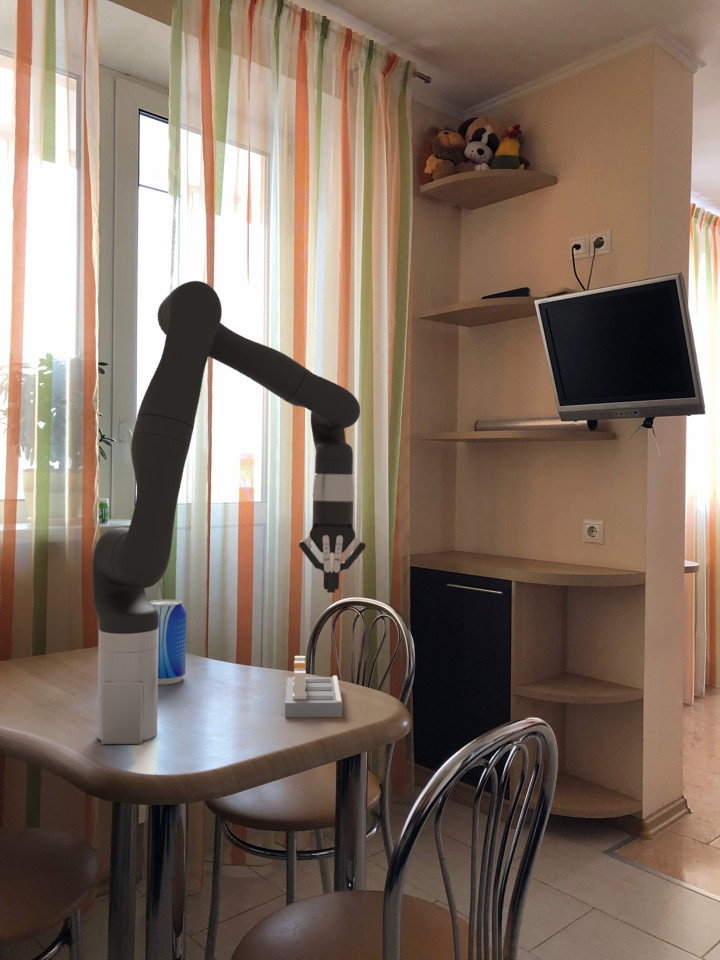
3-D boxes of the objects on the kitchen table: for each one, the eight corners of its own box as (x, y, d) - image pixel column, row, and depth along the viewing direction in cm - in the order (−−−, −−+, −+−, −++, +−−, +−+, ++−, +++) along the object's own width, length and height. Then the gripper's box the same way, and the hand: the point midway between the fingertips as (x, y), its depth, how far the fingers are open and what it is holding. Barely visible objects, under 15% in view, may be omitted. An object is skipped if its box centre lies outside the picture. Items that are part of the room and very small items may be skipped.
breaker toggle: (305, 688, 149) (306, 663, 149) (292, 688, 149) (293, 663, 149) (305, 685, 151) (306, 660, 151) (292, 685, 151) (293, 660, 151)
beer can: (179, 686, 160) (180, 605, 160) (137, 685, 161) (138, 604, 160) (189, 675, 169) (190, 599, 169) (149, 674, 169) (150, 598, 169)
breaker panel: (342, 716, 141) (342, 675, 141) (284, 717, 141) (285, 676, 141) (337, 689, 159) (338, 653, 159) (286, 690, 159) (287, 653, 158)
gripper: (297, 498, 146) (295, 594, 146) (370, 500, 147) (368, 595, 147) (297, 497, 153) (295, 589, 153) (367, 499, 154) (365, 590, 154)
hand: (331, 592), depth 150 cm, fingers closed
